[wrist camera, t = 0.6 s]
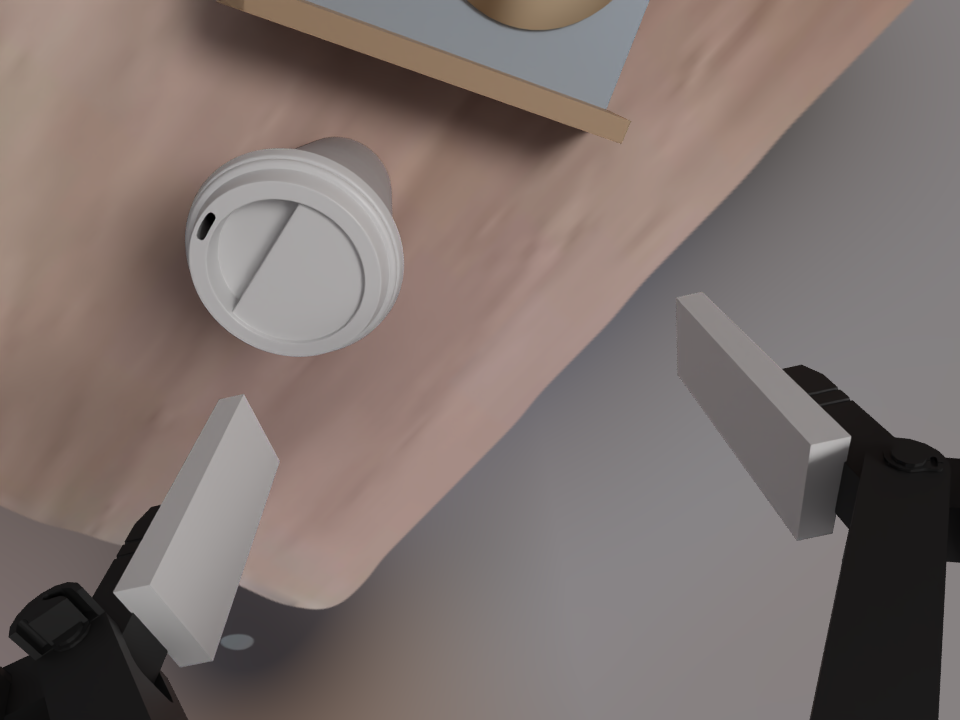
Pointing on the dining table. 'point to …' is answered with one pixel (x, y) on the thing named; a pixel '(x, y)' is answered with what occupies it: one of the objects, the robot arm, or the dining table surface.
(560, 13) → the pad
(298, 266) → the coffee cup
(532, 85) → the tray
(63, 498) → the dining table surface
